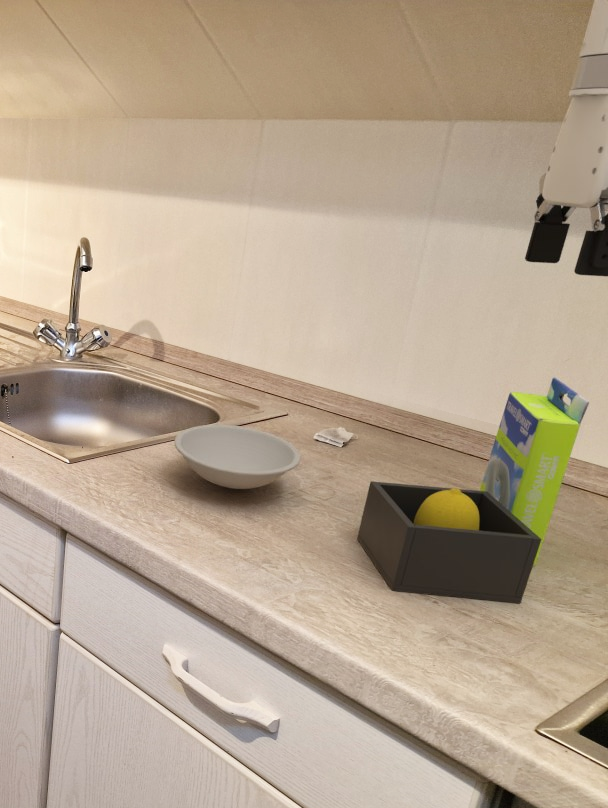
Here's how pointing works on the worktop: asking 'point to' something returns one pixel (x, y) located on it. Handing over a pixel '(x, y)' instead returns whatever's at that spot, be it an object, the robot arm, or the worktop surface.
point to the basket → (446, 546)
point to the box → (534, 453)
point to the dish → (236, 455)
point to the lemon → (448, 511)
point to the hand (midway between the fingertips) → (565, 268)
